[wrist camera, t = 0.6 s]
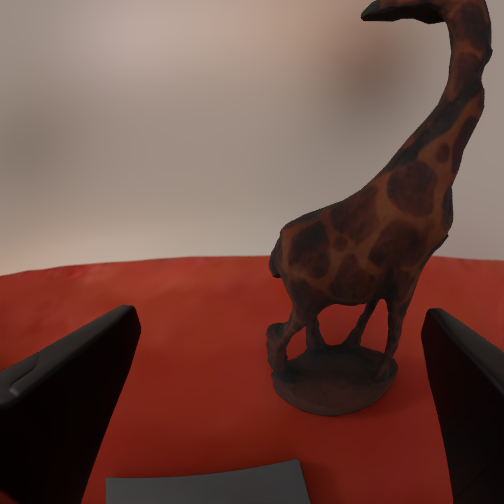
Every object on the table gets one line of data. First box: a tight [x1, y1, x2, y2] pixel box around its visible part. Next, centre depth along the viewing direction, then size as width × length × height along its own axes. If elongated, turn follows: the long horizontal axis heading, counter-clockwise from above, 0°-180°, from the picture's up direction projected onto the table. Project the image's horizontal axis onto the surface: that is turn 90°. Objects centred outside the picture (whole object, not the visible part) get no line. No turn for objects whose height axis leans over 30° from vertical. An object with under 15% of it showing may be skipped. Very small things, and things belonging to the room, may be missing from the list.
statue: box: [266, 0, 493, 416], centre depth 15 cm, size 12×7×30 cm, turn 89°
